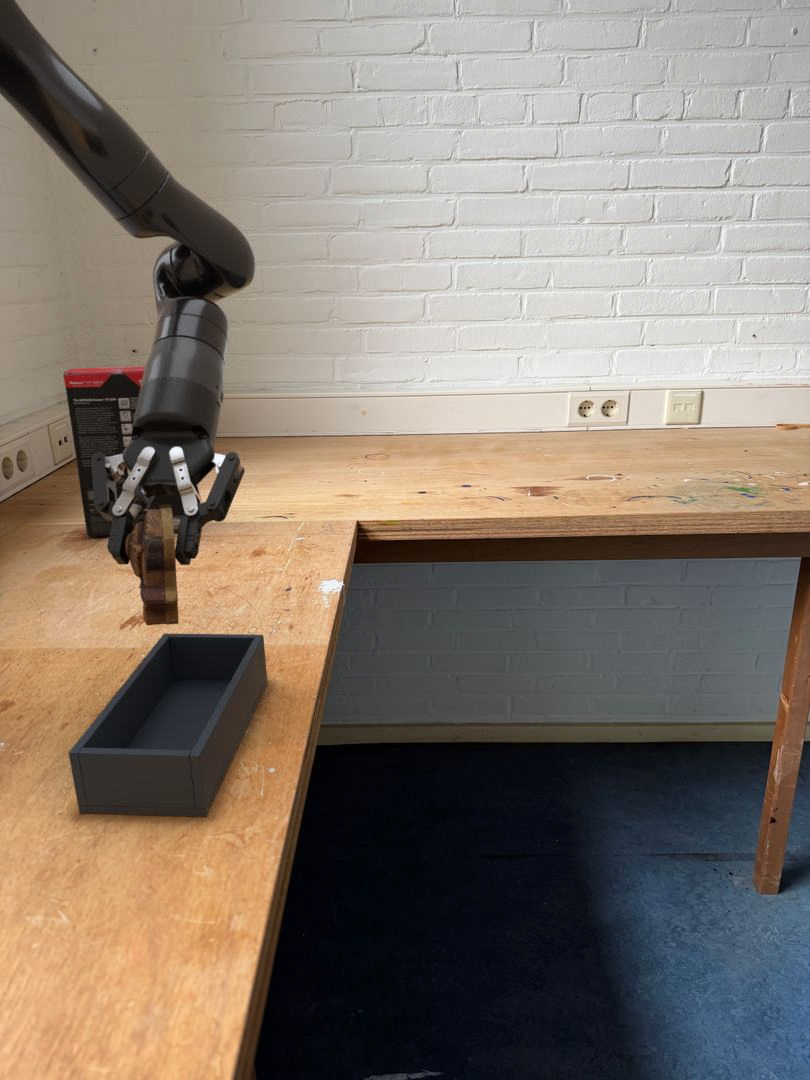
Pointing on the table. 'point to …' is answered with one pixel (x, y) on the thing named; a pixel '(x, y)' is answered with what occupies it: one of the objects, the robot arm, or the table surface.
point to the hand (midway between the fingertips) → (151, 560)
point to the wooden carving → (155, 565)
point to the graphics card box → (106, 432)
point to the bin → (171, 727)
